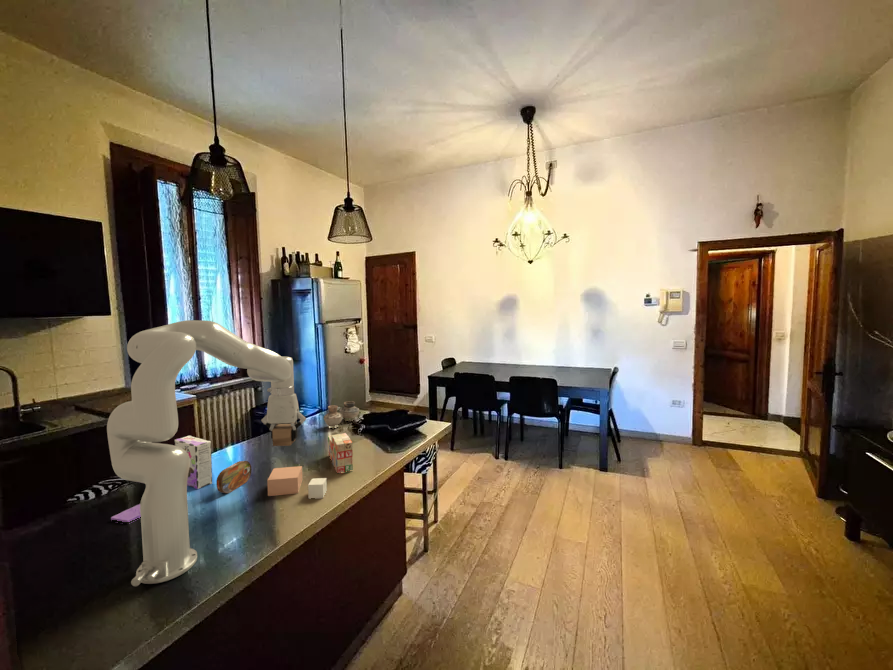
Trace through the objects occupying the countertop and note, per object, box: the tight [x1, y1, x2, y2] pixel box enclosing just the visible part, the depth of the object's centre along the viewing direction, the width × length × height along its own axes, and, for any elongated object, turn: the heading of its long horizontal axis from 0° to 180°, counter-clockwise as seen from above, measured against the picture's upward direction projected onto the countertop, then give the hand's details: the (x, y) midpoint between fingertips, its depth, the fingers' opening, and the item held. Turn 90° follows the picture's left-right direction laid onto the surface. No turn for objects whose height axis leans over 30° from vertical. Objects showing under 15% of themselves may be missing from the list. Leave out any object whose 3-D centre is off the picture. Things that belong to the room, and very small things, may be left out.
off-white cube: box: [307, 477, 328, 500], centre depth 136 cm, size 5×5×5 cm
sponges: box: [110, 503, 141, 522], centre depth 124 cm, size 7×13×2 cm, turn 164°
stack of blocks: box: [327, 432, 354, 474], centre depth 163 cm, size 21×6×12 cm, turn 26°
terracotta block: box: [266, 465, 303, 497], centre depth 141 cm, size 10×10×6 cm
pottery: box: [323, 400, 360, 426], centre depth 218 cm, size 11×25×12 cm, turn 158°
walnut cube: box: [272, 424, 297, 447], centre depth 139 cm, size 6×6×6 cm
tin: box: [215, 460, 252, 494], centre depth 141 cm, size 15×3×8 cm, turn 168°
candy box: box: [174, 435, 213, 490], centre depth 145 cm, size 14×6×16 cm, turn 62°
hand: (284, 439), depth 140 cm, fingers closed on walnut cube, 6 cm apart
